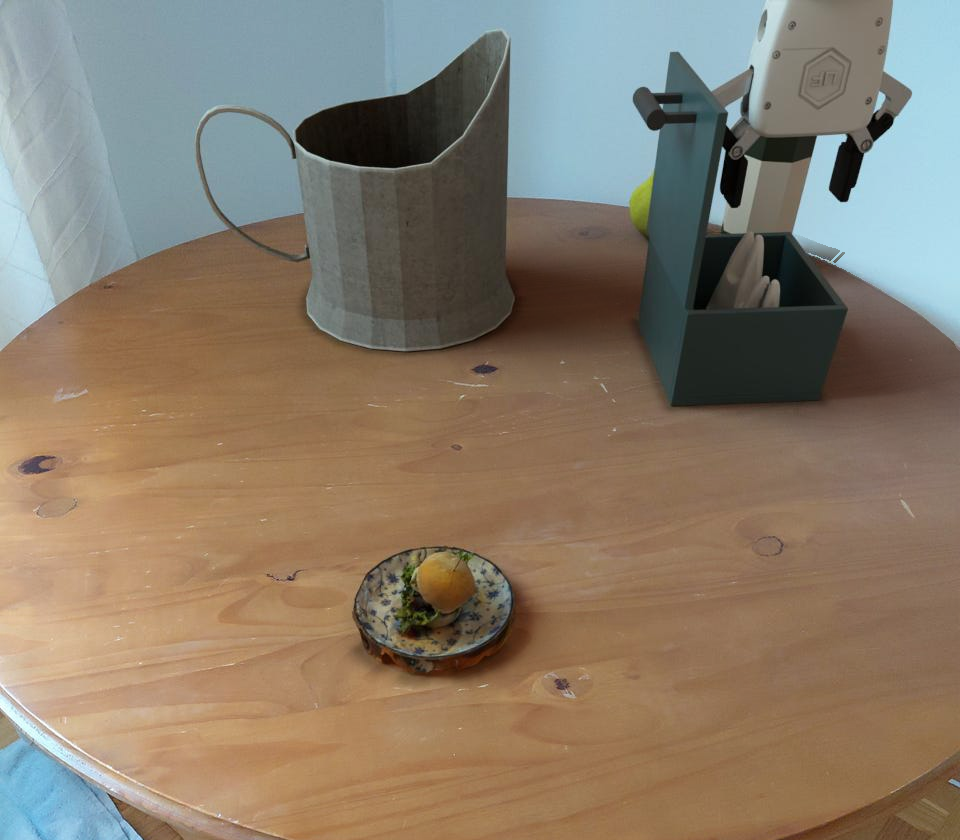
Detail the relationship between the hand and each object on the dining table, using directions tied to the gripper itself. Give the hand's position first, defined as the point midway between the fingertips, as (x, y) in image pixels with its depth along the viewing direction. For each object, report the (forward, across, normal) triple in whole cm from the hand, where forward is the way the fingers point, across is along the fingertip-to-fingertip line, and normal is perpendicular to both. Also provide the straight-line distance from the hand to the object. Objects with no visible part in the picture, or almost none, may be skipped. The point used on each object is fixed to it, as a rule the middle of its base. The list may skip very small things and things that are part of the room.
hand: (784, 199), depth 79 cm
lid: (-2, -9, +1) cm, 9 cm away
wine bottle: (+16, +6, +23) cm, 29 cm away
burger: (+16, -34, -34) cm, 50 cm away
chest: (+16, -2, +1) cm, 16 cm away
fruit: (+16, -4, +31) cm, 35 cm away
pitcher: (+15, -38, +16) cm, 44 cm away
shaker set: (+15, -1, +1) cm, 15 cm away
